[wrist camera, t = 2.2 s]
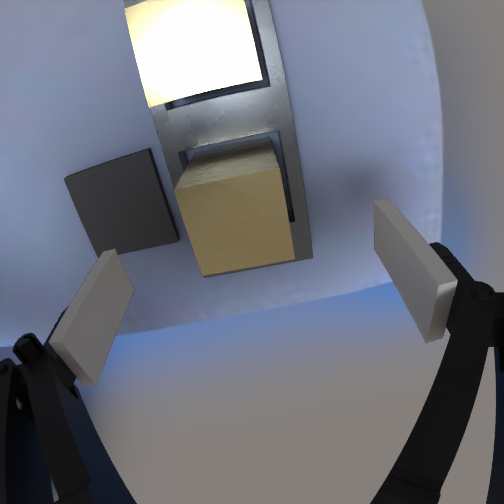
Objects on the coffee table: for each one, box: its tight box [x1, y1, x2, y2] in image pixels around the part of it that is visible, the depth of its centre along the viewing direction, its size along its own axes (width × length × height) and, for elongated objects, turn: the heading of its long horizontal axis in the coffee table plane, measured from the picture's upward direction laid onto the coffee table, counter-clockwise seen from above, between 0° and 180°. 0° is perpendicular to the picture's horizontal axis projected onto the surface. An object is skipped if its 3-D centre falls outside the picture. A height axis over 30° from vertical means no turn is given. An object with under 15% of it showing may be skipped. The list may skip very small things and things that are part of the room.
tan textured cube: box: [174, 137, 295, 276], centre depth 21 cm, size 6×6×8 cm
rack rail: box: [124, 0, 313, 278], centre depth 20 cm, size 9×24×2 cm, turn 12°
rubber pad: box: [64, 148, 180, 258], centre depth 25 cm, size 8×8×1 cm
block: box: [124, 0, 262, 107], centre depth 15 cm, size 6×6×8 cm
